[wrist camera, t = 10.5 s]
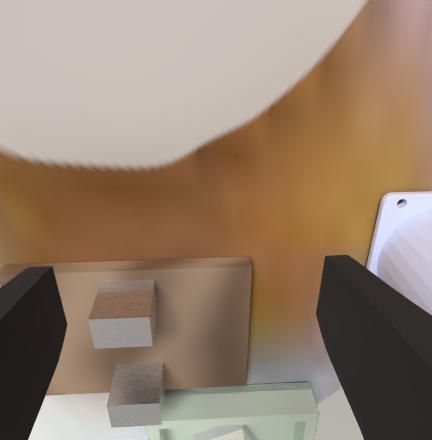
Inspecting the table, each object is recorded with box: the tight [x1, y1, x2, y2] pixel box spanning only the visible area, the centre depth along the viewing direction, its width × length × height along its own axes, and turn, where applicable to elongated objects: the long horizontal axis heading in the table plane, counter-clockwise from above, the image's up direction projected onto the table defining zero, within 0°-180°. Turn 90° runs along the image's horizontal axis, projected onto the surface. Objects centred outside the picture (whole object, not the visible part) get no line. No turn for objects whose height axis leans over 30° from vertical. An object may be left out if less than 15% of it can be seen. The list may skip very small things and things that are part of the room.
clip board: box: [0, 256, 252, 427], centre depth 23 cm, size 14×10×4 cm
